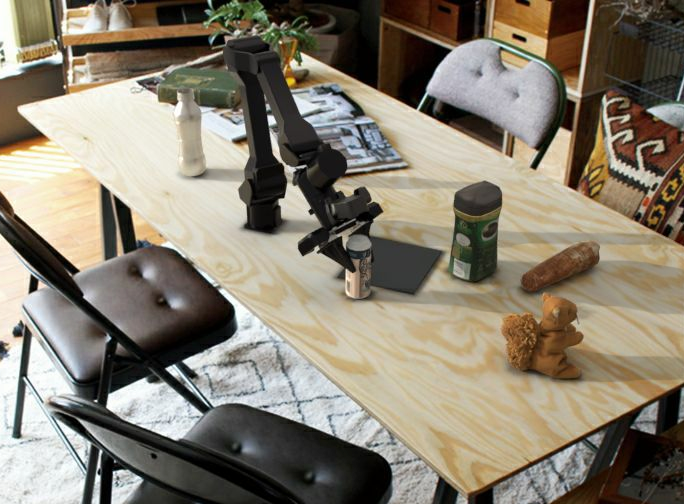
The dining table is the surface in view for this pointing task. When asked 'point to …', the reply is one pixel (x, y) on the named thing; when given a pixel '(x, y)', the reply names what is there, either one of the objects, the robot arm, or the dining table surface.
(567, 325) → the stuffed squirrel
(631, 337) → the dining table surface
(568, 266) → the cassava root
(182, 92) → the plastic bottle
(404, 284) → the mat
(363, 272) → the beer can
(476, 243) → the coffee jar
